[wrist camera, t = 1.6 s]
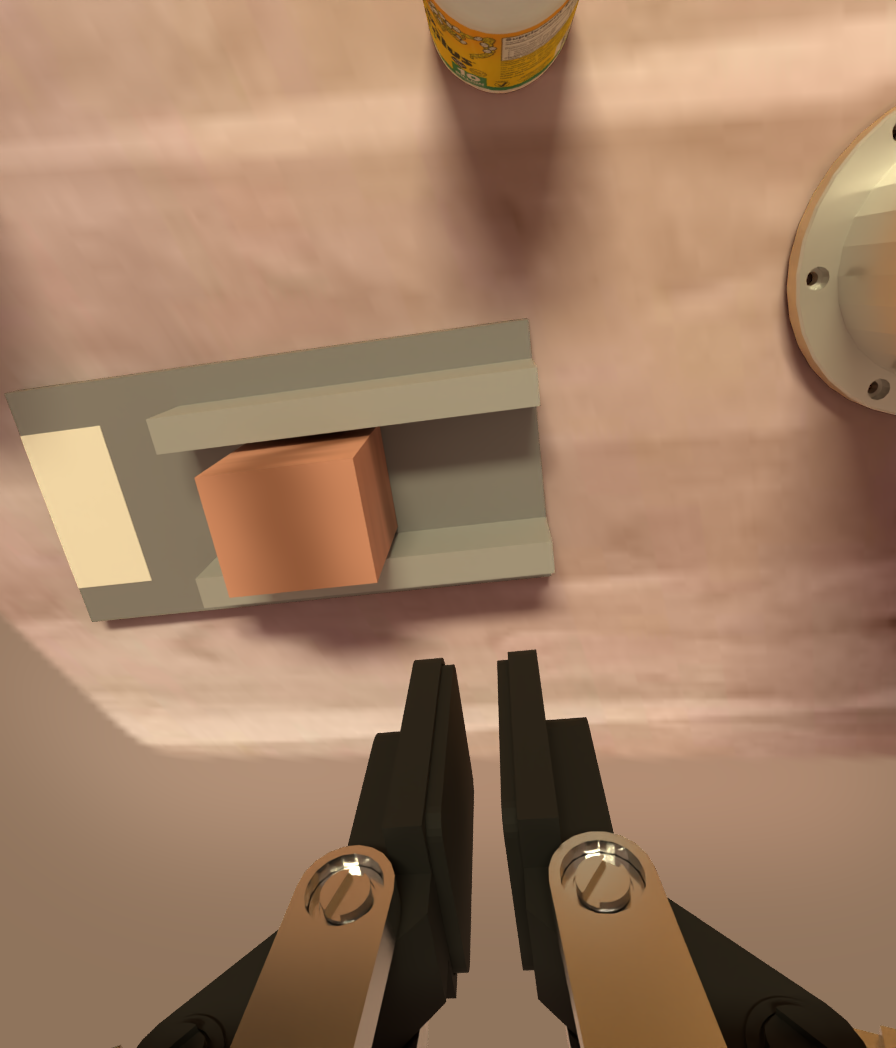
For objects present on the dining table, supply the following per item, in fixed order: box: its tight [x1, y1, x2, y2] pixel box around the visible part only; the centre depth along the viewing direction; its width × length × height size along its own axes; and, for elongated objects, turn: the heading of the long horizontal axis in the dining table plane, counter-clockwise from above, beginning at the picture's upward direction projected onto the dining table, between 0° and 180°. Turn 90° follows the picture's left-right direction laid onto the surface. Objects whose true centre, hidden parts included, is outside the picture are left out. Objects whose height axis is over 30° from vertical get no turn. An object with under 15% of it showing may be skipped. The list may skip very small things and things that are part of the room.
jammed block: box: [195, 426, 398, 598], centre depth 27 cm, size 6×5×6 cm
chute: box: [5, 318, 555, 622], centre depth 29 cm, size 24×12×4 cm, turn 98°
